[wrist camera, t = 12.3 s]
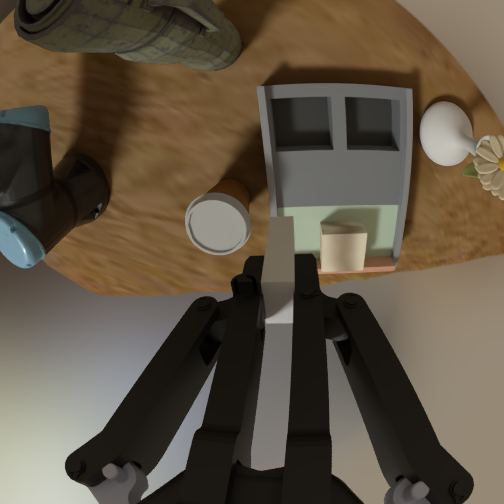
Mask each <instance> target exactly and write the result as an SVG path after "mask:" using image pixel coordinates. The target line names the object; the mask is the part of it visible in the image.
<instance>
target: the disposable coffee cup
mask: <svg viewBox="0 0 504 504" xmlns="http://www.w3.org/2000/svg"><path fill="white" fill-rule="evenodd" d="M185 225H186V231H187V234H188V236H189V238H190V240H191V241H192V242H193V243H194V245H196V246H197V247H198V248H199V249H201V250H203V251H204V252H207V253H209V254H214V255H226V254H229V253H232V252H234V251H236V250H237V249H239V248H240V247H242V246H243V245H244V244H245V243H246V241H247V240H248V238H249V236H250V233H251V219H250V216H249V192H248V189H247V187H246V186H245V185H244V184H243V183H242V182H240V181H238V180H235V179H225V180H223V181H221V182H219V183H218V184H217V185H216V186H214V187H213V188H212V189H211V190H209V191H208V192H207V193H206V194H204V195H201V196H199V197H198V198H196V199H195V200H194V201H193V202H192V203H191V204H190V206H189V207H188V209H187V212H186V216H185Z"/></svg>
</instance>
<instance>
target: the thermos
mask: <svg viewBox="0 0 504 504" xmlns="http://www.w3.org/2000/svg"><path fill="white" fill-rule="evenodd" d="M14 26H15V29H16V31H17V33H18V35H19V36H20V37H22V38H23V39H25V40H26V41H29V42H31V43H33V44H35V45H38V46H40V47H42V48H44V49H47V50H50V51H54V52H95V53H115V54H117V55H118V56H120V57H121V58H123V59H124V60H129V61H134V62H141V63H153V64H173V63H177V62H179V63H182V64H183V65H185V66H186V67H190V68H193V69H197V70H203V71H217V70H221V69H225V68H226V67H228V66H230V65H232V64H233V63H234V62H235V61H236V60H237V59H238V57H239V55H240V53H241V51H242V39H241V35H240V34H239V32H238V30H237V29H236V28H235V26H234V25H233V24H232V23H231V22H230V20H229V19H227V18H226V17H224V13H223V12H222V11H221V10H220V9H218V7H217V6H216V5H215V4H214V2H213V1H212V0H17V3H16V7H15V12H14Z"/></svg>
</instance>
